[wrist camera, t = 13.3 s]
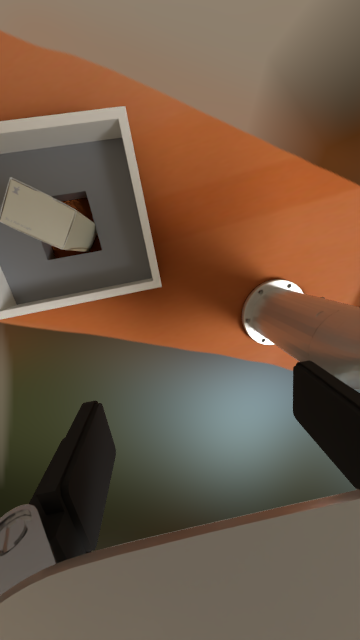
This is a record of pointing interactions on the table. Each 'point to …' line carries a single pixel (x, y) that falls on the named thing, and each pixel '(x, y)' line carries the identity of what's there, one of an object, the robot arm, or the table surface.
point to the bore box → (68, 184)
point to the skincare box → (46, 218)
